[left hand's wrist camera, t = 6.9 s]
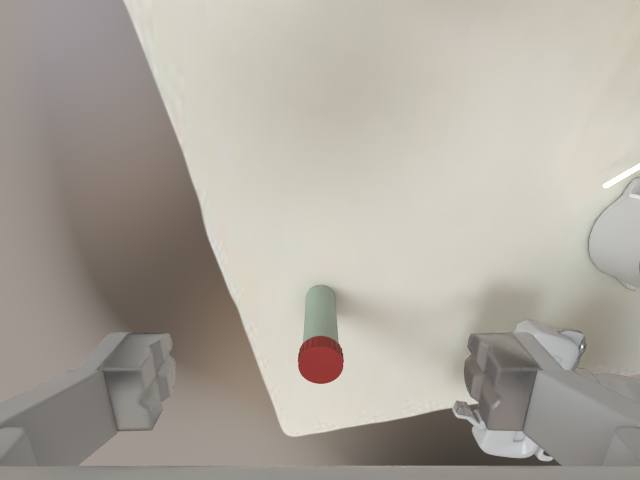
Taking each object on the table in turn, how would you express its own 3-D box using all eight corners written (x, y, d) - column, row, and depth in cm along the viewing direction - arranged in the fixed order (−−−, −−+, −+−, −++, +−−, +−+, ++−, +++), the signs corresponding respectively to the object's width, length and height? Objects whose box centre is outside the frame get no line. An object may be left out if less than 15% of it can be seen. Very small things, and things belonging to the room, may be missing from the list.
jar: (340, 297, 64) (347, 362, 48) (320, 315, 65) (321, 385, 49) (320, 279, 63) (320, 340, 47) (300, 298, 64) (293, 363, 48)
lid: (351, 353, 50) (353, 365, 48) (321, 379, 51) (321, 391, 49) (320, 327, 48) (320, 338, 46) (289, 354, 50) (288, 366, 48)
